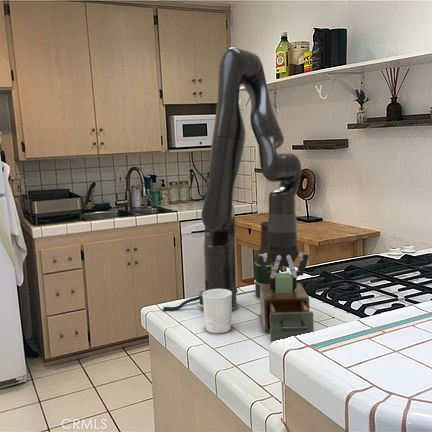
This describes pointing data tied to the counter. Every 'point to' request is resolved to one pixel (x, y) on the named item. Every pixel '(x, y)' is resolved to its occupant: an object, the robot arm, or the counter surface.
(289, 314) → the drawer
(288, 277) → the block
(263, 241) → the beer bottle
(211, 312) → the white cup
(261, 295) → the cabinet
